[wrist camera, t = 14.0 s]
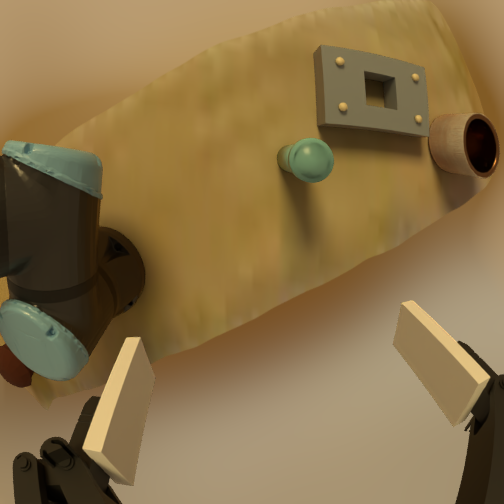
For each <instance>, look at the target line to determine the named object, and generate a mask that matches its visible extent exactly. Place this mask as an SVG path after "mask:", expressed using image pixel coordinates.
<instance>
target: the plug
mask: <svg viewBox="0 0 504 504" xmlns="http://www.w3.org/2000/svg"><path fill="white" fill-rule="evenodd" d="M277 162H278V165H279V166H280V167H281V168H282V169H283V170H285V171H287V172H290V173H293V174H294V175H295V176H296V177H297V178H299V179H300V180H303V181H306V182H310V183H315V182H319V181H322V180H324V179H325V178H326V177H327V176H328V175H329V174H330V173H331V171H332V168H333V164H334V158H333V154H332V151H331V149H330V148H329V146H328V145H327V144H326V143H325V142H323V141H321V140H319V139H316V138H306V139H302V140H300V141H298V142H296V143H295V144H292V145H287V146H284V147H282V148H281V149H280V150H279V152H278V154H277Z"/></svg>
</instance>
